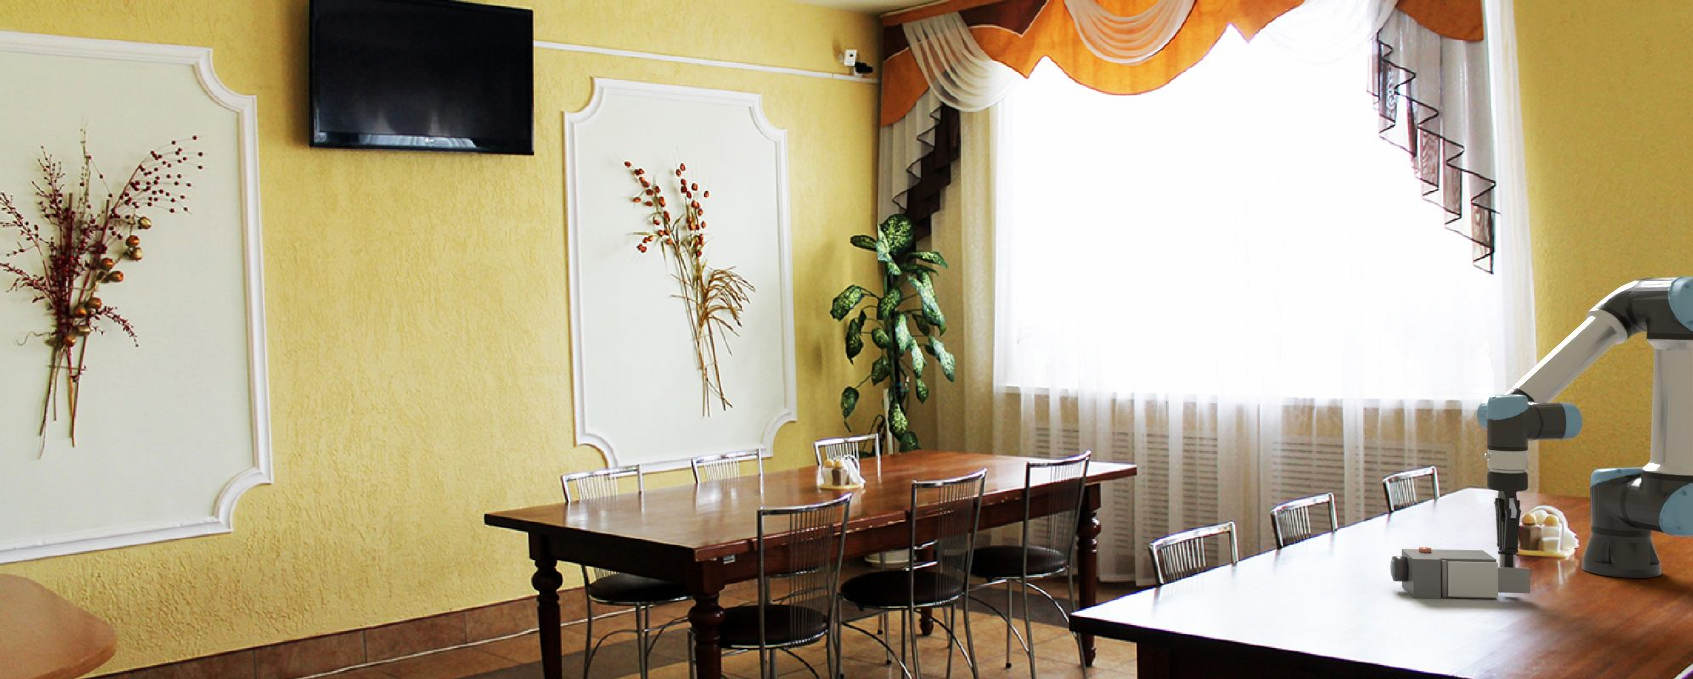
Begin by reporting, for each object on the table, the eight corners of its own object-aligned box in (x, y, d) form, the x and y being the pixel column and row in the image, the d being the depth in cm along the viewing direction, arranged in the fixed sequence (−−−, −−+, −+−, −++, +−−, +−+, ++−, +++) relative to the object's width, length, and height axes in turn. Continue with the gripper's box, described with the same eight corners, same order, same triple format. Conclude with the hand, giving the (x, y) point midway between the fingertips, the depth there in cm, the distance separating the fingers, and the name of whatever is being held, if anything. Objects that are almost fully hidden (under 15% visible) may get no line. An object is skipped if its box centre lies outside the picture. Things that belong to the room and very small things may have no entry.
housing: (1482, 588, 278) (1482, 546, 278) (1498, 599, 267) (1497, 556, 267) (1388, 585, 282) (1388, 544, 282) (1399, 597, 271) (1399, 554, 271)
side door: (1528, 598, 267) (1528, 561, 267) (1530, 599, 266) (1530, 562, 266) (1441, 596, 270) (1441, 560, 270) (1442, 597, 269) (1442, 560, 269)
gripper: (1481, 466, 278) (1481, 577, 279) (1493, 474, 266) (1493, 591, 266) (1520, 466, 276) (1520, 579, 277) (1534, 474, 264) (1535, 592, 264)
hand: (1507, 585), depth 272 cm, fingers closed
